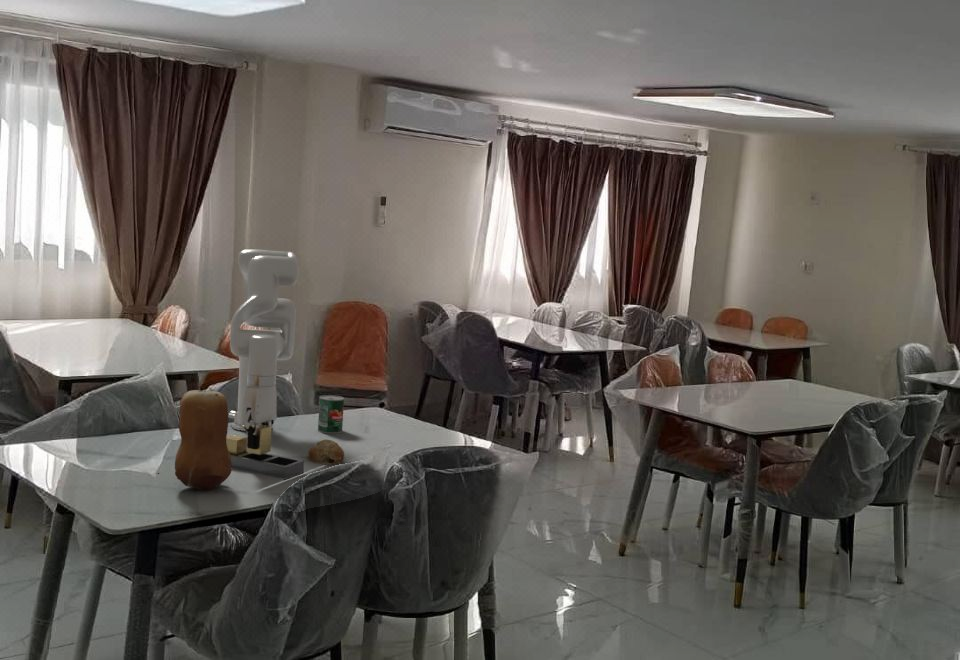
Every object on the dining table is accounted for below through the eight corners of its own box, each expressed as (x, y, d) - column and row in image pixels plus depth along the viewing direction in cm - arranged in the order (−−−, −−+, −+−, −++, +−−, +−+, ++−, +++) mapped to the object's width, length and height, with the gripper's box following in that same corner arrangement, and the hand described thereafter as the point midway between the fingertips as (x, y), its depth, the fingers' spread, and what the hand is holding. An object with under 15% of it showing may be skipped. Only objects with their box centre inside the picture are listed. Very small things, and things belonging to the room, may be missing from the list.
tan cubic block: (246, 451, 265) (247, 426, 264) (256, 448, 269) (257, 423, 268) (260, 454, 263) (261, 429, 263) (270, 451, 268) (271, 426, 267)
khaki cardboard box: (222, 462, 269) (223, 437, 268) (232, 459, 273) (233, 434, 272) (235, 465, 267) (237, 440, 266) (246, 462, 271) (247, 437, 270)
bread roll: (311, 477, 276) (316, 455, 272) (302, 453, 284) (307, 432, 280) (344, 475, 281) (350, 453, 277) (334, 451, 288) (340, 430, 284)
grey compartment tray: (211, 464, 268) (212, 452, 267) (231, 458, 276) (231, 446, 275) (285, 480, 258) (285, 467, 258) (303, 473, 266) (304, 460, 266)
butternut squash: (209, 477, 256) (213, 383, 252) (241, 490, 247) (245, 392, 244) (162, 486, 245) (165, 388, 242) (193, 499, 236) (197, 398, 233)
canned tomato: (321, 427, 321) (323, 394, 320) (345, 429, 320) (347, 396, 319) (314, 432, 314) (316, 398, 312) (338, 434, 313) (340, 400, 311)
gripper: (268, 374, 273) (265, 438, 275) (230, 382, 258) (227, 450, 260) (291, 378, 270) (288, 443, 272) (254, 386, 255) (250, 455, 257)
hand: (258, 446), depth 266 cm, fingers closed on tan cubic block, 4 cm apart
